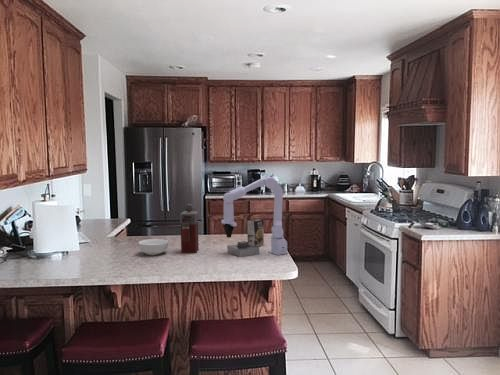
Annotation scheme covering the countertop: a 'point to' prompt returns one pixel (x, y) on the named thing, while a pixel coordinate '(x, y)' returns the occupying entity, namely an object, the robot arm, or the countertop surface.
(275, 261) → the countertop surface
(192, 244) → the glass bottle
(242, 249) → the socket plate
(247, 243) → the plug
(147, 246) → the cereal bowl
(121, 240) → the countertop surface
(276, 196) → the robot arm
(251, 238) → the coffee box
